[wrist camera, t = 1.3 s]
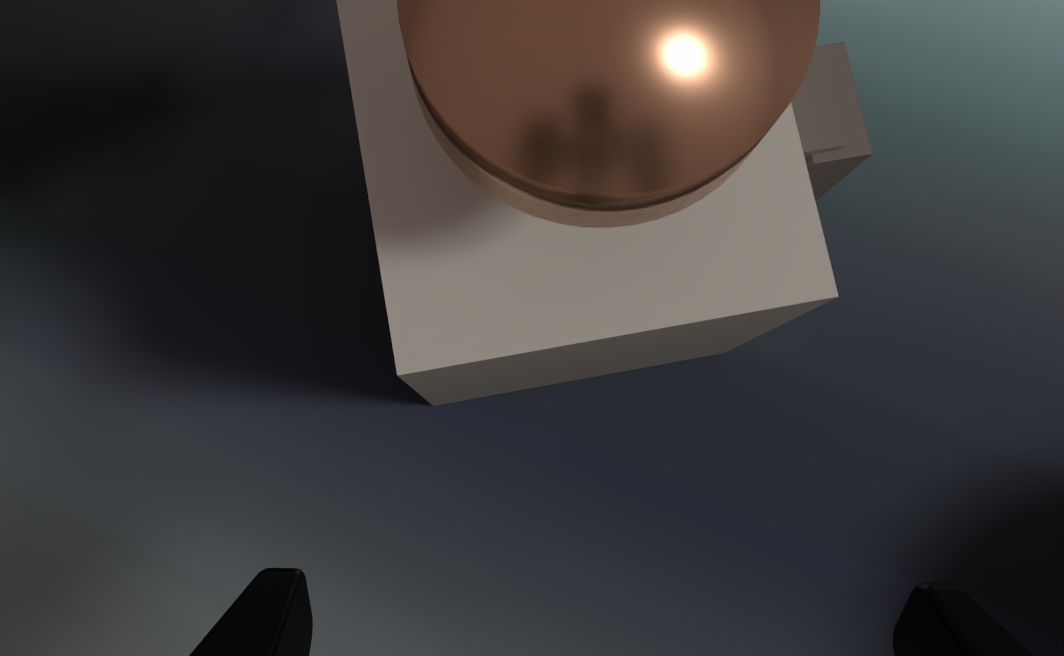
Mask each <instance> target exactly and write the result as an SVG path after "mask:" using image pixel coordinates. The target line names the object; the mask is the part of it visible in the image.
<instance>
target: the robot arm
mask: <svg viewBox="0 0 1064 656" xmlns="http://www.w3.org/2000/svg"><path fill="white" fill-rule="evenodd" d="M312 628H313V620H312V612H311V606H310V600H309V594H308V588H307V583H306V577H305V575H304V573H303V571H302V570H300V569H297V568H267V569H264V570H262V571H261V572H260V573H258V574H257V576H256V577H255V578H254V579H253V580H252V581H251V583H250V584H249V585H248V586H247V587H246V589H245V590H244V591H243V592H242V593H241V595H240V596H239V597H238V598H237V599H236V601H235V602H234V603H233V604H232V605H231V607H230V608H229V609H228V610H227V611H226V612H225V614H224V615H223V616H222V617H221V618H220V620H219V621H218V622H217V623H216V624H215V626H214V627H213V628H212V629H211V630H210V632H209V633H208V634H207V635H206V636H205V637H204V639H203V640H202V641H201V642H200V643H199V645H198V646H197V647H196V648H195V649H194V651H193V652H192V653H191V654H190V655H189V656H309V653H310V646H311V639H312ZM893 649H894V654H895V656H1036V655H1035V654H1034V653H1033V652H1032V651H1031V650H1030V649H1029V648H1028V647H1026V646H1025V645H1024V644H1023V643H1022V642H1021V641H1020V640H1019V639H1018V638H1017V637H1016V636H1015V635H1014V634H1012V633H1011V632H1010V631H1009V630H1008V629H1007V628H1006V627H1005V626H1004V625H1003V624H1002V623H1001V622H1000V621H998V620H997V619H996V618H995V617H994V616H993V615H992V614H991V613H990V612H989V611H988V610H987V609H986V608H984V607H983V606H982V605H981V604H980V603H979V602H978V601H977V600H976V599H975V598H974V597H973V596H972V595H970V594H969V593H968V592H967V591H966V590H965V589H963V588H962V587H960V586H959V585H956V584H952V583H926V582H924V583H920V584H918V585H917V586H915V587H914V589H913V590H912V592H911V594H910V596H909V598H908V600H907V602H906V604H905V607H904V609H903V611H902V613H901V615H900V617H899V619H898V621H897V623H896V625H895V628H894V632H893Z"/></svg>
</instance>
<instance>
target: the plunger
mask: <svg viewBox="0 0 1064 656" xmlns="http://www.w3.org/2000/svg"><path fill="white" fill-rule="evenodd" d="M397 10H398V20H399V25H400V29H401V33H402V38H403V42H404V46H405V51H406V55H407V60H408V64H409V68H410V73H411V77H412V81H413V85H414V89H415V93H416V97H417V100H418V103H419V105H420V108H421V110H422V113H423V115H424V118H425V120H426V122H427V124H428V126H429V128H430V130H431V131H432V133H433V135H434V137H435V138H436V140H437V142H438V143H439V145H440V146H441V147H442V148H443V150H444V151H445V152H446V154H447V155H448V156H449V158H450V159H451V160H452V162H453V163H454V164H455V165H456V166H457V167H458V168H459V169H460V170H461V171H462V172H463V173H464V174H465V175H466V176H467V177H468V178H469V179H470V180H472V181H473V182H474V183H476V184H477V185H478V186H479V187H481V188H482V189H483V190H485V191H486V192H487V193H489V194H490V195H492V196H493V197H495V198H497V199H498V200H500V201H502V202H504V203H505V204H507V205H509V206H510V207H513V208H515V209H517V210H520V211H522V212H524V213H527V214H529V215H531V216H534V217H537V218H540V219H544V220H548V221H551V222H555V223H558V224H564V225H571V226H578V227H590V228H613V227H622V226H632V225H637V224H641V223H645V222H650V221H654V220H658V219H660V218H663V217H666V216H668V215H671V214H674V213H676V212H679V211H681V210H683V209H685V208H687V207H689V206H690V205H692V204H694V203H696V202H698V201H700V200H701V199H703V198H704V197H706V196H707V195H708V194H710V193H711V192H713V191H714V190H715V189H717V188H718V187H719V186H721V185H722V184H723V183H724V182H725V181H726V180H727V179H728V178H729V177H730V176H731V175H732V174H733V173H734V172H735V171H736V170H737V169H738V168H739V167H740V166H741V165H742V163H743V162H744V161H745V160H746V158H747V157H748V156H749V155H750V154H751V152H752V151H753V150H754V149H755V147H756V146H757V145H758V144H759V142H760V141H761V140H762V139H763V137H764V136H765V135H766V134H767V133H768V131H769V130H770V129H771V128H772V126H773V125H774V124H775V122H776V121H777V120H778V119H779V117H780V116H781V115H782V114H783V112H784V111H785V110H786V108H787V107H788V106H789V104H790V103H791V101H792V99H793V97H794V96H795V94H796V92H797V90H798V89H799V87H800V85H801V84H802V81H803V79H804V76H805V74H806V71H807V69H808V66H809V64H810V61H811V59H812V55H813V51H814V47H815V43H816V38H817V34H818V25H819V14H820V0H397Z"/></svg>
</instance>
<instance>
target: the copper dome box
mask: <svg viewBox="0 0 1064 656" xmlns="http://www.w3.org/2000/svg"><path fill="white" fill-rule="evenodd" d="M337 6H338V13H339V19H340V25H341V31H342V37H343V43H344V50H345V56H346V62H347V68H348V74H349V81H350V87H351V93H352V99H353V105H354V111H355V118H356V124H357V130H358V136H359V142H360V148H361V155H362V161H363V167H364V173H365V179H366V186H367V192H368V198H369V204H370V210H371V216H372V223H373V229H374V235H375V241H376V247H377V254H378V260H379V266H380V272H381V278H382V284H383V291H384V297H385V303H386V309H387V315H388V322H389V328H390V334H391V340H392V346H393V352H394V359H395V365H396V371H397V376H398V377H400V378H401V379H402V380H403V381H404V382H405V383H407V384H408V385H409V386H410V387H411V388H412V389H414V390H415V391H416V392H417V393H418V394H420V395H421V396H422V397H423V398H424V399H425V400H427V401H428V402H429V403H430V404H431V405H433V406H436V405H442V404H447V403H453V402H458V401H464V400H469V399H475V398H480V397H486V396H491V395H497V394H502V393H508V392H513V391H519V390H524V389H530V388H535V387H541V386H546V385H551V384H557V383H562V382H568V381H573V380H579V379H584V378H590V377H595V376H601V375H606V374H612V373H617V372H623V371H628V370H634V369H639V368H645V367H650V366H656V365H661V364H667V363H672V362H678V361H683V360H689V359H694V358H700V357H705V356H711V355H716V354H722V353H725V352H727V351H729V350H731V349H733V348H735V347H737V346H739V345H741V344H743V343H745V342H747V341H749V340H751V339H753V338H755V337H757V336H759V335H761V334H763V333H765V332H767V331H769V330H771V329H773V328H775V327H777V326H780V325H782V324H784V323H786V322H788V321H790V320H792V319H794V318H796V317H798V316H800V315H802V314H804V313H806V312H808V311H810V310H812V309H814V308H816V307H818V306H820V305H822V304H824V303H826V302H828V301H830V300H832V299H834V298H836V297H838V293H837V288H836V284H835V280H834V276H833V272H832V268H831V264H830V260H829V256H828V252H827V247H826V243H825V239H824V235H823V231H822V227H821V223H820V219H819V215H818V211H817V206H816V202H815V201H816V200H818V199H819V198H820V197H821V196H822V195H824V194H825V193H826V192H827V191H828V190H830V189H831V188H832V187H833V186H834V185H836V184H837V183H838V182H839V181H840V180H842V179H843V178H844V177H845V176H846V175H848V174H849V173H850V172H851V171H852V170H854V169H855V168H856V167H857V166H859V165H860V164H861V163H862V162H863V161H865V160H866V159H867V158H868V157H869V156H871V155H872V150H871V146H870V142H869V138H868V135H867V131H866V127H865V123H864V119H863V115H862V111H861V107H860V103H859V99H858V96H857V92H856V88H855V84H854V80H853V76H852V72H851V68H850V64H849V60H848V57H847V53H846V49H845V45H844V42H841V43H835V44H829V45H822V46H816V47H814V51H813V55H812V59H811V61H810V64H809V66H808V69H807V71H806V74H805V76H804V79H803V81H802V84H801V85H800V87H799V89H798V90H797V92H796V94H795V96H794V97H793V99H792V101H791V103H790V104H789V106H788V107H787V108H786V110H785V111H784V112H783V114H782V115H781V116H780V117H779V119H778V120H777V121H776V122H775V124H774V125H773V126H772V128H771V129H770V130H769V131H768V133H767V134H766V135H765V136H764V137H763V139H762V140H761V141H760V142H759V144H758V145H757V146H756V147H755V149H754V150H753V151H752V152H751V154H750V155H749V156H748V157H747V158H746V160H745V161H744V162H743V163H742V165H741V166H740V167H739V168H738V169H737V170H736V171H735V172H734V173H733V174H732V175H731V176H730V177H729V178H728V179H727V180H726V181H725V182H724V183H723V184H722V185H721V186H719V187H718V188H717V189H715V190H714V191H713V192H711V193H710V194H708V195H707V196H706V197H704V198H703V199H701V200H700V201H698V202H696V203H694V204H692V205H690V206H689V207H687V208H685V209H683V210H681V211H679V212H676V213H674V214H671V215H668V216H666V217H663V218H660V219H658V220H654V221H650V222H645V223H641V224H637V225H632V226H622V227H613V228H590V227H578V226H571V225H564V224H558V223H555V222H551V221H548V220H544V219H540V218H537V217H534V216H531V215H529V214H527V213H524V212H522V211H520V210H517V209H515V208H513V207H510V206H509V205H507V204H505V203H504V202H502V201H500V200H498V199H497V198H495V197H493V196H492V195H490V194H489V193H487V192H486V191H485V190H483V189H482V188H481V187H479V186H478V185H477V184H476V183H474V182H473V181H472V180H470V179H469V178H468V177H467V176H466V175H465V174H464V173H463V172H462V171H461V170H460V169H459V168H458V167H457V166H456V165H455V164H454V163H453V162H452V160H451V159H450V158H449V156H448V155H447V154H446V152H445V151H444V150H443V148H442V147H441V146H440V145H439V143H438V142H437V140H436V138H435V137H434V135H433V133H432V131H431V130H430V128H429V126H428V124H427V122H426V120H425V118H424V115H423V113H422V110H421V108H420V105H419V103H418V100H417V97H416V93H415V89H414V85H413V81H412V77H411V73H410V68H409V64H408V60H407V55H406V51H405V46H404V42H403V38H402V33H401V29H400V25H399V20H398V10H397V0H337Z"/></svg>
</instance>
